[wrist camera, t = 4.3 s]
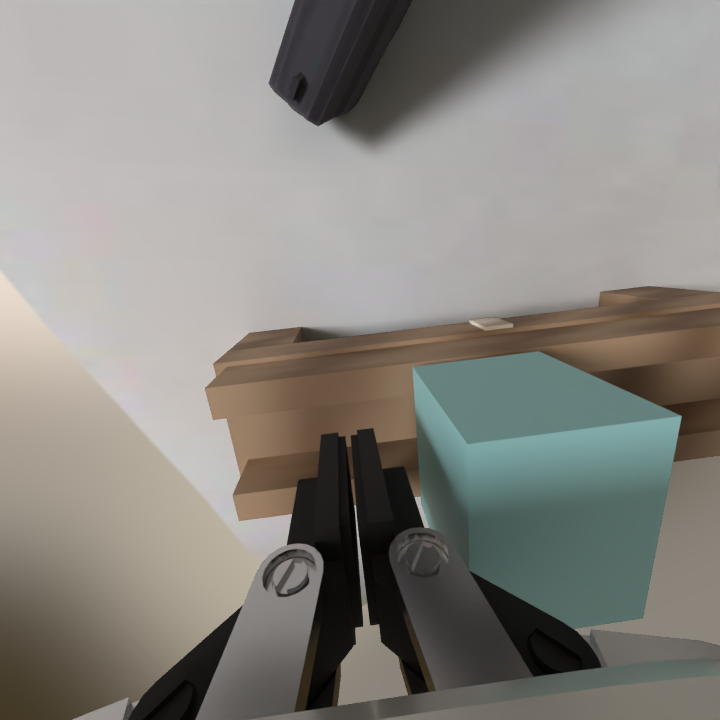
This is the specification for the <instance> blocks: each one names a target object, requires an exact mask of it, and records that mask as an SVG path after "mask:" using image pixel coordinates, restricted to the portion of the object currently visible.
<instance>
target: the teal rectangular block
mask: <svg viewBox="0 0 720 720" xmlns="http://www.w3.org/2000/svg"><path fill="white" fill-rule="evenodd" d="M412 368H413V383H414V399H415V415H416V431H417V447H418V462H419V478H420V494H421V505H422V507H423V510H424V513H425V516H426V519H427V522H428V525H429V528H430V529H433V530H435V531H438V532H440V533H441V534H443V535H444V536H446V537H447V538H448V539H449V540H450V541H451V543H452V544H453V545H454V547H455V548H456V550H457V552H458V553H459V555H460V557H461V558H462V560H463V562H464V563H465V565H466V567H467V568H468V570H469V571H471V572H473V573H475V574H476V575H478V576H480V577H482V578H484V579H486V580H487V581H489V582H491V583H493V584H495V585H496V586H498V587H500V588H502V589H504V590H506V591H507V592H509V593H511V594H513V595H515V596H516V597H518V598H520V599H522V600H524V601H526V602H527V603H529V604H531V605H533V606H535V607H536V608H538V609H540V610H542V611H544V612H546V613H547V614H549V615H551V616H553V617H555V618H556V619H558V620H560V621H562V622H564V623H565V624H567V625H568V626H569V627H571V628H572V629H576V628H582V627H588V626H595V625H601V624H609V623H615V622H622V621H628V620H635V619H641V618H643V615H644V610H645V605H646V600H647V594H648V590H649V584H650V579H651V573H652V568H653V563H654V558H655V553H656V548H657V542H658V537H659V532H660V527H661V522H662V516H663V511H664V506H665V501H666V496H667V490H668V485H669V480H670V475H671V469H672V464H673V459H674V454H675V449H676V443H677V438H678V433H679V428H680V423H681V417H682V416H681V415H678V414H676V413H674V412H672V411H670V410H667V409H665V408H663V407H661V406H659V405H656V404H654V403H652V402H650V401H648V400H645V399H643V398H641V397H639V396H637V395H634V394H632V393H630V392H628V391H625V390H623V389H621V388H619V387H617V386H614V385H612V384H610V383H608V382H606V381H603V380H601V379H599V378H597V377H595V376H592V375H590V374H588V373H586V372H584V371H581V370H579V369H577V368H575V367H573V366H570V365H568V364H566V363H564V362H561V361H559V360H557V359H555V358H553V357H550V356H548V355H546V354H544V353H542V352H539V351H537V352H529V353H521V354H513V355H505V356H496V357H488V358H480V359H472V360H464V361H456V362H448V363H439V364H431V365H423V366H415V367H412Z"/></svg>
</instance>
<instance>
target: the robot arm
mask: <svg viewBox="0 0 720 720" xmlns="http://www.w3.org/2000/svg"><path fill="white" fill-rule="evenodd" d="M351 448H352V460H353V472H354V485H355V497H356V509H357V521H358V530H359V539H360V547H361V555H362V563H363V571H364V579H365V587H366V595H367V603H368V611H369V619H370V625H376V624H379V626H380V635H381V642H382V643H383V644H384V645H385V646H387V647H388V648H389V649H390V650H391V651H392V652H394V653H395V654H396V655H397V656H398V657H399V663H400V669H401V672H402V676H403V679H404V683H405V687H406V690H407V693H408V695H407V696H401V697H394V698H387V699H381V700H374V701H367V702H361V703H355V704H348V705H341V706H338V698H339V690H340V681H341V662H342V660H343V659H344V658H345V657H346V655H347V654H348V653H349V651H350V650H351V649H352V647H353V645H355V644H356V639H355V628H356V627H363V615H362V601H361V587H360V574H359V560H358V547H357V533H356V519H355V509H354V501H353V493H352V485H351V477H350V469H349V461H348V453H347V445H346V438H345V436H341V437H339V434H338V432H337V433H328V434H321V441H320V452H319V464H318V475H317V477H313V478H306V479H299V480H298V484H297V490H296V495H295V501H294V507H293V513H292V519H291V524H290V530H289V536H288V542H287V546H284V547H282V548H279V549H277V550H276V551H274V552H273V553H271V554H270V555H269V556H268V557H267V558H266V559H265V560H264V561H263V562H262V564H261V565H260V567H259V569H258V571H257V573H256V575H255V578H254V580H253V582H252V585H251V587H250V590H249V592H248V594H247V597H246V599H245V602H244V604H243V606H241V607H240V608H239V609H238V610H237V611H236V612H235V613H234V614H233V615H231V616H230V617H229V618H228V619H227V620H226V621H224V622H223V623H222V624H221V625H220V626H219V627H218V628H217V629H215V630H214V631H213V632H212V633H211V634H210V635H209V636H208V637H206V638H205V639H204V640H203V641H202V642H201V643H199V645H197V646H196V647H195V648H194V649H193V650H192V651H190V652H189V653H188V654H187V655H186V656H185V657H184V658H183V659H181V660H180V661H179V662H178V663H177V664H176V665H175V666H173V667H172V668H171V669H170V670H169V671H168V672H167V673H166V674H165V675H163V676H162V677H161V678H160V679H159V680H158V681H156V682H155V684H154V685H153V686H152V687H151V688H150V689H149V690H148V691H147V692H146V693H145V694H144V695H143V697H142V698H141V699H140V700H139V701H137V702H134V703H131V701H130V699H129V698H126V699H124V700H121V701H119V702H116V703H113V704H111V705H108V706H106V707H103V708H101V709H98V710H96V711H93V712H91V713H88V714H86V715H83V716H80V717H78V718H76V719H73V720H720V646H719V645H716V644H712V643H708V642H704V641H699V640H689V639H680V638H670V637H659V636H650V635H641V634H630V633H621V632H610V631H601V630H592V629H591V633H590V636H587V635H580V634H579V633H578V632H577V631H575V630H574V629H572V628H571V627H569V626H568V625H567V624H565V623H564V622H562V621H560V620H558V619H556V618H555V617H553V616H551V615H549V614H547V613H546V612H544V611H542V610H540V609H538V608H536V607H535V606H533V605H531V604H529V603H527V602H526V601H524V600H522V599H520V598H518V597H516V596H515V595H513V594H511V593H509V592H507V591H506V590H504V589H502V588H500V587H498V586H496V585H495V584H493V583H491V582H489V581H487V580H486V579H484V578H482V577H480V576H478V575H476V574H475V573H473V572H471V571H469V570H468V568H467V567H466V565H465V563H464V562H463V560H462V558H461V557H460V555H459V553H458V552H457V550H456V548H455V547H454V545H453V544H452V543H451V541H450V540H449V539H448V538H447V537H446V536H444V535H443V534H441V533H440V532H438V531H435V530H433V529H430V528H424V525H423V522H422V519H421V516H420V513H419V510H418V507H417V504H416V501H415V498H414V495H413V492H412V489H411V486H410V483H409V479H408V476H407V473H406V470H405V468H404V466H400V467H392V468H384V469H382V465H381V460H380V456H379V451H378V447H377V442H376V438H375V433H374V429H373V428H369V429H361V430H357V435H351Z"/></svg>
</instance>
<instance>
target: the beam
mask: <svg viewBox="0 0 720 720" xmlns="http://www.w3.org/2000/svg"><path fill="white" fill-rule="evenodd" d="M537 351H539V352H542V353H544V354H546V355H548V356H550V357H553V358H555V359H557V360H559V361H561V362H564V363H566V364H568V365H570V366H573V367H575V368H577V369H579V370H581V371H584V372H586V373H588V374H590V375H592V376H595V377H597V378H599V379H601V380H603V381H606V382H608V383H610V384H612V385H614V386H617V387H619V388H621V389H623V390H625V391H628V392H630V393H632V394H634V395H637V396H639V397H641V398H643V399H645V400H648V401H650V402H652V403H654V404H656V405H659V406H661V407H663V408H665V409H667V410H670V411H672V412H674V413H676V414H678V415H681V416H682V417H681V423H680V428H679V433H678V438H677V443H676V449H675V454H674V459H673V462H676V461H683V460H690V459H698V458H705V457H712V456H719V455H720V292H708V291H697V290H685V289H674V288H662V287H651V286H647V287H638V288H630V289H621V290H613V291H604V292H600V301H599V307H595V308H587V309H578V310H570V311H562V312H553V313H545V314H536V315H528V316H520V317H511V318H503V319H499V318H496V317H489V318H480V319H472V320H469V323H461V324H452V325H444V326H435V327H427V328H419V329H410V330H402V331H393V332H385V333H377V334H368V335H360V336H351V337H343V338H335V339H326V340H318V341H309V342H303V336H302V330H301V327H297V328H289V329H280V330H272V331H263V332H255V333H249V334H248V335H247V336H245V337H244V338H243V339H242V340H241V341H239V342H238V343H237V344H236V345H235V346H234V347H232V348H231V349H230V350H229V351H228V352H227V353H225V354H224V355H223V356H222V357H221V358H220V359H218V360H217V361H216V362H215V363H214V364H213V365H214V369H215V373H216V378H215V379H214V380H213V381H212V382H211V383H210V384H209V385H208V386H207V387H206V388H205V391H206V395H207V399H208V402H209V406H210V410H211V414H212V418H213V420H216V419H224V418H227V422H228V426H229V430H230V434H231V439H232V443H233V447H234V451H235V455H236V459H237V463H238V467H239V471H240V475H241V477H240V480H239V482H238V484H237V486H236V489H235V491H234V493H233V499H234V503H235V507H236V511H237V515H238V519H239V521H243V520H250V519H258V518H265V517H272V516H280V515H287V514H292V513H293V507H294V501H295V495H296V490H297V484H298V480H299V479H306V478H313V477H317V475H318V464H319V452H320V441H321V434H328V433H337V432H338V434H339V437H341V436H345V438H346V445H347V453H348V461H349V469H350V477H351V485H352V493H353V501H354V505H356V497H355V485H354V472H353V460H352V448H351V435H357V430H361V429H369V428H373V429H374V433H375V438H376V442H377V447H378V451H379V456H380V460H381V465H382V469H384V468H392V467H400V466H404V468H405V470H406V473H407V476H408V479H409V483H410V486H411V489H412V492H413V495H414V497H419V496H421V494H420V478H419V462H418V447H417V431H416V415H415V399H414V383H413V368H412V367H415V366H423V365H431V364H439V363H448V362H456V361H464V360H472V359H480V358H488V357H496V356H505V355H513V354H521V353H529V352H537Z"/></svg>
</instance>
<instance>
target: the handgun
mask: <svg viewBox="0 0 720 720" xmlns="http://www.w3.org/2000/svg"><path fill="white" fill-rule="evenodd" d="M411 2H412V0H295V2H294V5H293V8H292V11H291V14H290V17H289V21H288V24H287V27H286V30H285V33H284V36H283V40H282V43H281V46H280V49H279V52H278V55H277V59H276V62H275V65H274V68H273V71H272V74H271V78H270V81H269V85H270V86H271V88H272V89H273V91H274V92H275V93H276V94H278V95H279V96H280V97H281V98H282V99H283V100H285V101H286V102H287V103H288V105H289V106H290V107H291V108H292V109H293V110H294V111H296V112H297V113H299V114H300V115H302V116H303V117H304V118H305V119H307V120H308V121H310V122H312V123H313V124H315V125H317V126H319V125H321V124H323V123H325V122H327V121H329V120H331V119H332V118H335V117H338V116H341V115H343V114H346V113H347V112H349V111H350V110H351V109H352V108H353V107H354V106H355V105H356V104H357V102H358V101H359V99H360V97H361V95H362V93H363V91H364V89H365V87H366V85H367V84H368V82H369V80H370V78H371V76H372V74H373V72H374V70H375V68H376V66H377V64H378V62H379V60H380V58H381V56H382V55H383V53H384V51H385V49H386V47H387V45H388V44H389V42H390V40H391V39H392V37H393V36H394V34H395V32H396V31H397V29H398V27H399V25H400V24H401V22H402V20H403V18H404V16H405V14H406V12H407V10H408V8H409V6H410V4H411Z"/></svg>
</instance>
